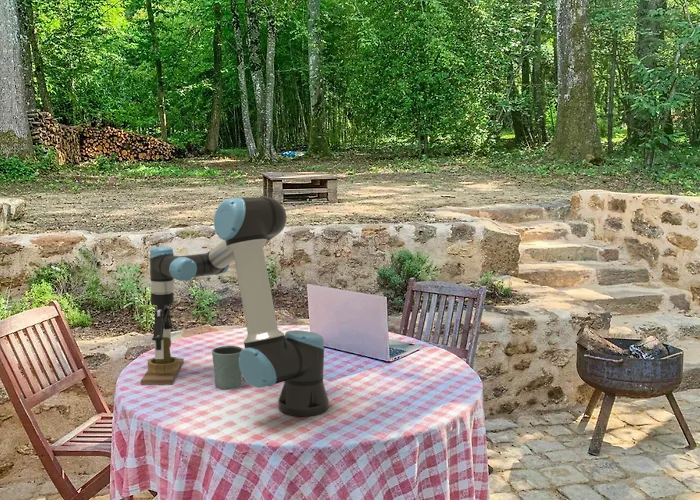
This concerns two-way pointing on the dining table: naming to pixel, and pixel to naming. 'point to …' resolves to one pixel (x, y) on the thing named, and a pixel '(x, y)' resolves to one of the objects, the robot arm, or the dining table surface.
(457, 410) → the dining table surface
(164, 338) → the cork
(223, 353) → the grey green cup
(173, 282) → the robot arm
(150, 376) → the board
